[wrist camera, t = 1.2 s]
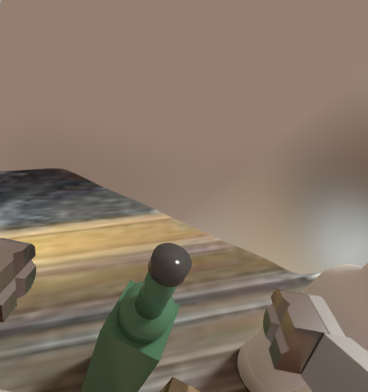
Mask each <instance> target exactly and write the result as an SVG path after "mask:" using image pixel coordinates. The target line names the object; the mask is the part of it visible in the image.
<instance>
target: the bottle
mask: <svg viewBox="0 0 368 392" xmlns="http://www.w3.org/2000/svg"><path fill="white" fill-rule="evenodd" d="M301 293H302V294H311V295H317V296H321V297H322V298H323V299H324V300H325V302H326V304H327V305H328V307H329V309H330V311H331V312H332V314H333V316H334V317H335V319H336V321H337V323H338V324H339V326H340V328H341V329H342V331H343V333H344V335H345V336H346V337H348V338H351V339H353V340H354V341H355V342H356V343H357V344H359V345H360V346H361V347H362V348H364V349H365V350H366V349H367V348H368V263H367V264H366V265H365V266H364V267H362V266H357V265H350V264H343V265H339V266H336V267H333V268H330V269H328V270H325V271H324V272H323V273H321V274H320V275H319V276H318V277H317V278H316V279H315V280H314V281H313V282H312V283H311V284H309V285H308V286H307V287H306V288H305V289H304V290H303V291H302V292H301ZM270 345H271V342H270V341H269V340H268V339H267V338H266V337H265V333H264V328H262V329H261V330H260V331H259V332H258V333H257V334H255V335H253V336H252V337H251V338H250V339H249V340H248V341H247V342H246V343H245V344H244V346H242V347H241V349H240V351H239V354H238V360H237V366H238V370H239V374H240V377H241V379H242V381H243V383H244V384H245V386H246V387H247V389H248V390H249V391H250V392H293V391H294V390H296V389H298V388H300V387H301V386H303V385H305V384H306V382H305V381H304V380H303V378H302V377H301V374H296V373H291V372H286V371H281V370H276V369H274V367H273V363H272V359H271V356H270V352H269V347H270Z"/></svg>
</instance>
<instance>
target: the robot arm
mask: <svg viewBox="0 0 368 392" xmlns="http://www.w3.org/2000/svg"><path fill="white" fill-rule="evenodd" d="M1 2H2V0H0V5H1ZM34 256H35V246H34V245H32V244H29V243H24V242H19V241H14V240H10V239H5V238H0V322H4V321H5V320H6V318H7V317H8V316H9V315H10V313H11V312H12V311H13V310H14V308H15V307H16V306H17V298H20V297H22V296H24V295H26V293H27V292H28V291H29V289H30V288H31V286H32V284H33V282H34V279H35V274H36V265H35V264H34V263H33V262H32V260H31V259H32V258H33V257H34ZM271 299H272V303H273V304H272V305H270V306H268V307H267V308H266V311H265V314H264V320H263V328H264V333H265V337H266V338H267V339H268V340H269V341H270V342H271V345H270V347H269V352H270V356H271V359H272V363H273V367H274V369H276V370H281V371H286V372H291V373H296V374H301V377H302V378H303V380H304V381H305V382H306V384H307V385H308V386H309V388H310V389H311V390H312V391H313V392H368V352H367V351H366V350H365V349H364V348H362V347H361V346H360V345H359V344H357V343H356V342H355V341H354V340H353V339H351V338H348V337H346V336H345V335H344V333H343V331H342V329H341V328H340V326H339V324H338V323H337V321H336V319H335V317H334V316H333V314H332V312H331V311H330V309H329V307H328V305H327V304H326V302H325V300H324V299H323V298H322V297H321V296H317V295H311V294H302V293H296V292H291V291H285V290H279V289H276V290H275V291H274V292H273V294H272V296H271ZM0 392H12V391H6V390H0Z"/></svg>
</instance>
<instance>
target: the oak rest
mask: <svg viewBox="0 0 368 392" xmlns="http://www.w3.org/2000/svg"><path fill="white" fill-rule="evenodd" d="M160 392H201V391H199V390H197V389H195V388H193V387H191V386H189V385H187V384H185V383H184V382H182V381H180V380H178V379H176V378H174V377H172V378H171V380H170V381H169V382H168V383H167V384H166V385H165V387H164V388H163V389H162V390H161V391H160Z"/></svg>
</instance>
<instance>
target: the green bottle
mask: <svg viewBox="0 0 368 392" xmlns="http://www.w3.org/2000/svg"><path fill="white" fill-rule="evenodd" d="M191 265H192V262H191V258H190V256H189V254H188V253H187V252H186V251H185V250H184V249H183V248H182V247H180V246H178V245H176V244H172V243H164V244H160V245H158V246H157V247H156V248H155V249H154V251H153V254H152V256H151V258H150V261H149V264H148V273H147V275H146V277H145V280H144V281H143V282H139V283H135V282H133V281H131V280H130V282H129V283H128V285H127V287H126V289H125V290H124V292H123V294H122V295H121V297H120V299H119V300H118V302H117V304H116V305H115V307H114V309H113V310H112V312H111V314H110V315H109V317H108V319H107V320H106V322H105V324H104V325H103V327H102V329H101V330H100V333H99V336H98V339H97V342H96V345H95V349H94V352H93V355H92V358H91V361H90V364H89V367H88V370H87V373H86V376H85V379H84V382H83V385H82V388H81V391H80V392H138V391H139V389H140V388H141V386H142V385H143V384H144V382H145V381H146V379H147V378H148V377H149V375H150V374H151V372H152V371H153V370H154V368H155V367H156V365H157V364H158V363H159V361H160V358H161V355H162V353H163V350H164V347H165V345H166V342H167V339H168V336H169V334H170V331H171V328H172V326H173V323H174V320H175V317H176V315H177V312H178V309H179V307H180V305H178V304H176V303H174V301H173V298H172V295H173V293H174V291H175V289H176V288H177V286H178V285H180V284H181V283H182V282H183V281H184V279H185V278H186V276H187V274H188V273H189V271H190V269H191Z"/></svg>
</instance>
